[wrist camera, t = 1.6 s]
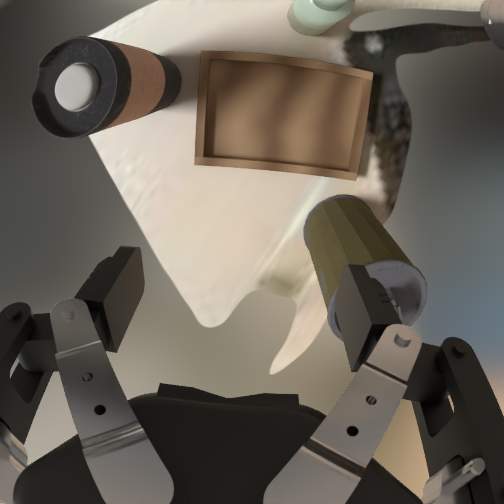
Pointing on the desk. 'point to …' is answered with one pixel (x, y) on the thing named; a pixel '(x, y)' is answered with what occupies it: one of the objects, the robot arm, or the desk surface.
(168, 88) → the travel mug
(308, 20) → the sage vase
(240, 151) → the walnut tray
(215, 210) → the desk surface
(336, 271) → the canister
